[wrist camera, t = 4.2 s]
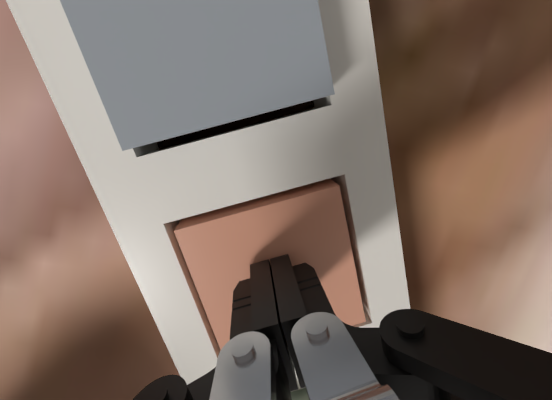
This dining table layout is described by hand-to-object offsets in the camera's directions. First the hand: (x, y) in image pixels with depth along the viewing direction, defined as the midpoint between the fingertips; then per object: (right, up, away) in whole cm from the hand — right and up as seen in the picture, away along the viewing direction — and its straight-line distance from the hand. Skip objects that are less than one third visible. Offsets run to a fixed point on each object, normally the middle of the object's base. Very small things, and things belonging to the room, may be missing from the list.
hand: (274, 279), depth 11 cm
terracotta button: (0, +1, +2) cm, 2 cm away
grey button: (-2, +9, -2) cm, 9 cm away
